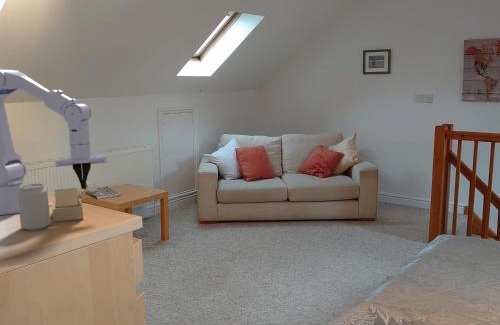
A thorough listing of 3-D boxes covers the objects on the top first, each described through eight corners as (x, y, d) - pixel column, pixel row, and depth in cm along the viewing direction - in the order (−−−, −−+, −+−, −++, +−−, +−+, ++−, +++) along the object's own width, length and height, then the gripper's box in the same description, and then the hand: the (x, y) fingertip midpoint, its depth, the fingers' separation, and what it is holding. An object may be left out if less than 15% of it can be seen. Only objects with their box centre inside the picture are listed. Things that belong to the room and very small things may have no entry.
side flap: (87, 184, 142) (88, 184, 142) (86, 181, 146) (87, 181, 146) (82, 200, 142) (83, 200, 142) (81, 196, 146) (82, 197, 146)
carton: (40, 211, 148) (39, 198, 147) (81, 207, 152) (80, 194, 152) (38, 224, 134) (36, 210, 133) (83, 219, 138) (82, 205, 138)
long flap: (54, 190, 136) (54, 189, 136) (76, 188, 138) (76, 187, 138) (56, 206, 135) (56, 206, 135) (78, 204, 137) (78, 204, 137)
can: (39, 232, 127) (35, 188, 125) (15, 230, 129) (10, 187, 127) (56, 224, 135) (52, 182, 133) (32, 222, 136) (28, 182, 134)
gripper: (53, 146, 135) (57, 193, 138) (106, 143, 140) (109, 188, 143) (54, 144, 142) (58, 188, 144) (104, 141, 147) (107, 184, 149)
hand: (83, 188), depth 144 cm, fingers closed
